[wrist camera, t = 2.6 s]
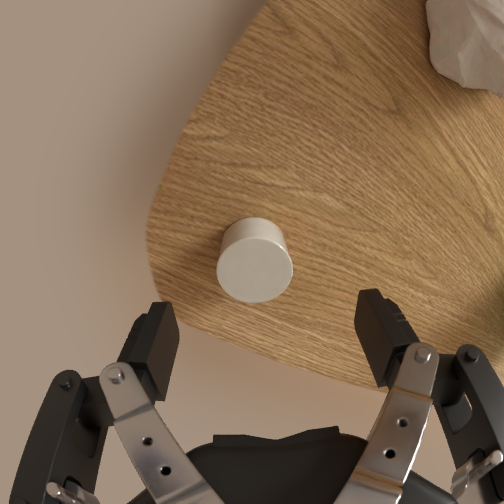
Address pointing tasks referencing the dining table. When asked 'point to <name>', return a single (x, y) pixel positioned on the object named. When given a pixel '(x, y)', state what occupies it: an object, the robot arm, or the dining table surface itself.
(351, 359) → the dining table surface
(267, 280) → the white cylinder
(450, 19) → the decorative stone
